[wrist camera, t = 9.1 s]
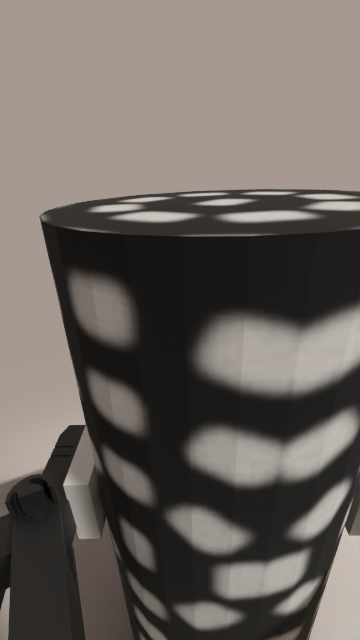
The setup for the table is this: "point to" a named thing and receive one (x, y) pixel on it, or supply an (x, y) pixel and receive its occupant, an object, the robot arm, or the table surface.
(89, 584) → the table surface
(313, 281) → the white-spotted black cylinder
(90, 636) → the table surface
